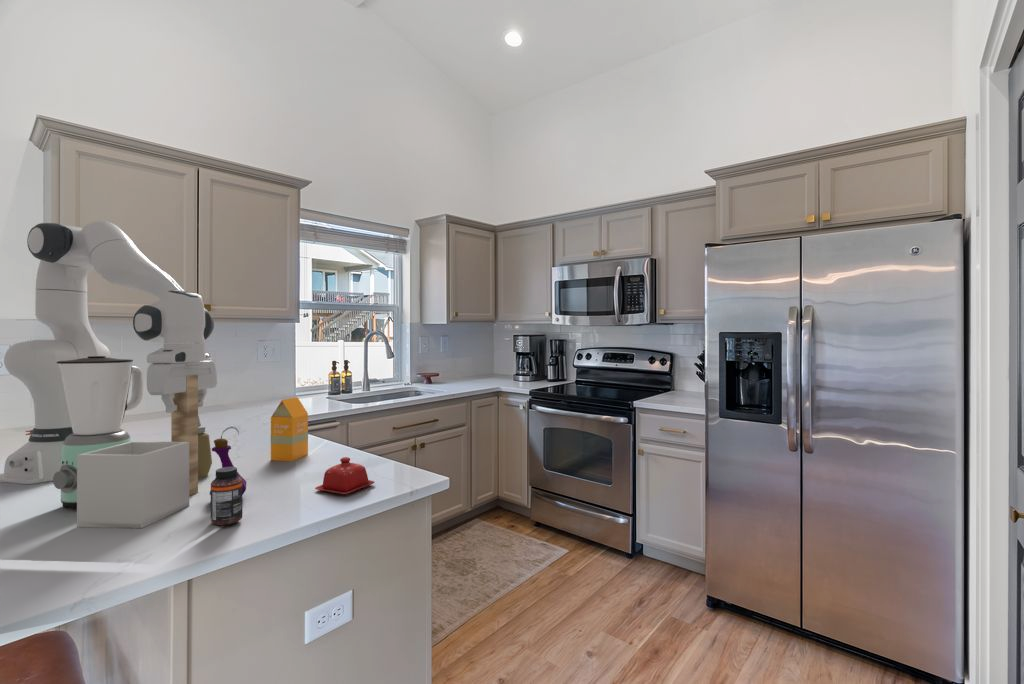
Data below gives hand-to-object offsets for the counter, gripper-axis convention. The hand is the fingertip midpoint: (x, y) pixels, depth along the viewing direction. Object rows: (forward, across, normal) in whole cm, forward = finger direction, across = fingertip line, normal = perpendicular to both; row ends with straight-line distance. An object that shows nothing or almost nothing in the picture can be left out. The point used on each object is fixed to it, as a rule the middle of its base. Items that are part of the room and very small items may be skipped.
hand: (185, 409), depth 124 cm
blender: (+22, +6, -17) cm, 28 cm away
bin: (+21, +15, 0) cm, 26 cm away
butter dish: (+22, -7, +38) cm, 45 cm away
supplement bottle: (+22, +17, +22) cm, 35 cm away
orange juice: (+22, -37, +8) cm, 44 cm away
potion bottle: (+22, +4, +14) cm, 26 cm away
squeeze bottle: (+22, -15, -8) cm, 27 cm away
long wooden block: (+21, 0, 0) cm, 21 cm away
